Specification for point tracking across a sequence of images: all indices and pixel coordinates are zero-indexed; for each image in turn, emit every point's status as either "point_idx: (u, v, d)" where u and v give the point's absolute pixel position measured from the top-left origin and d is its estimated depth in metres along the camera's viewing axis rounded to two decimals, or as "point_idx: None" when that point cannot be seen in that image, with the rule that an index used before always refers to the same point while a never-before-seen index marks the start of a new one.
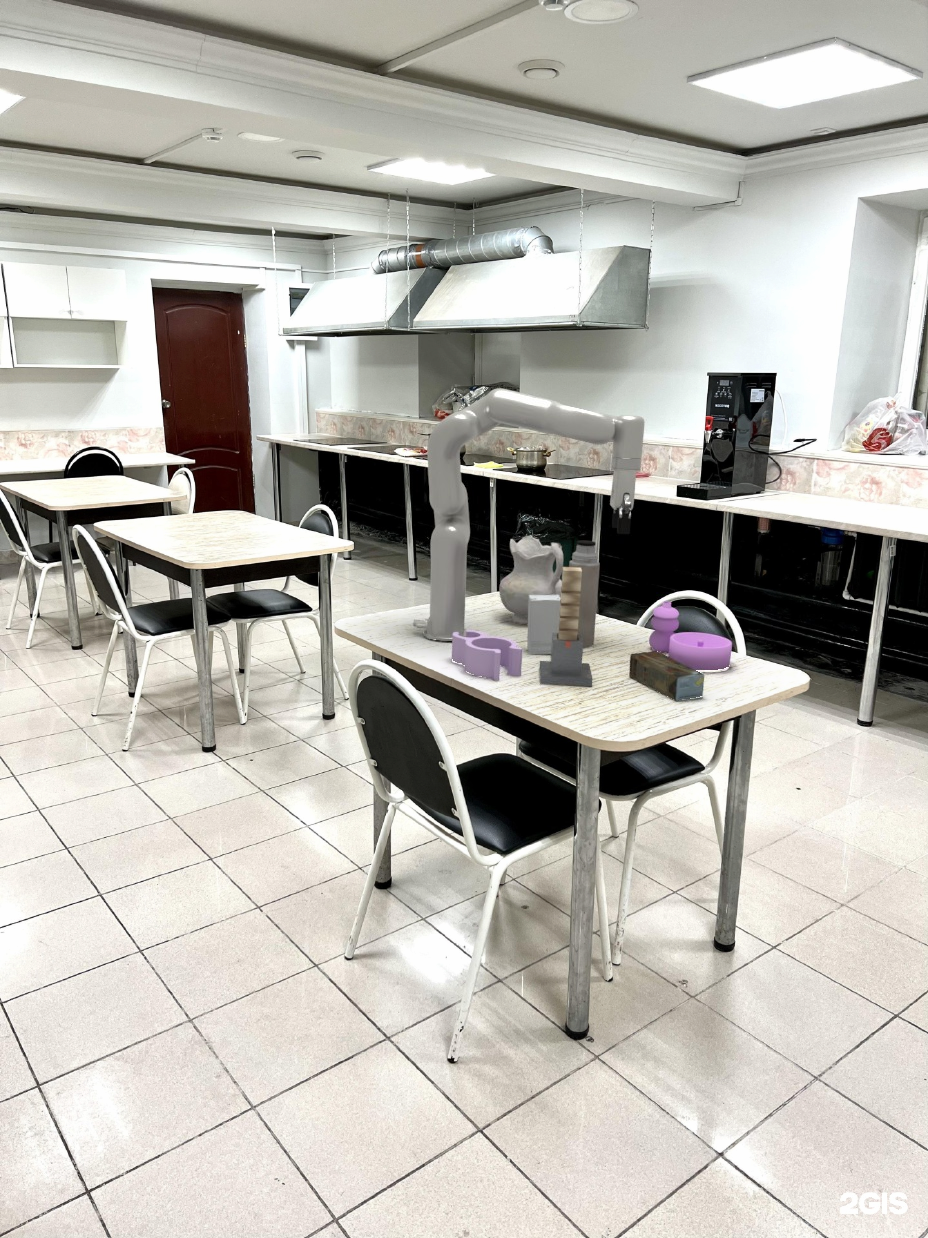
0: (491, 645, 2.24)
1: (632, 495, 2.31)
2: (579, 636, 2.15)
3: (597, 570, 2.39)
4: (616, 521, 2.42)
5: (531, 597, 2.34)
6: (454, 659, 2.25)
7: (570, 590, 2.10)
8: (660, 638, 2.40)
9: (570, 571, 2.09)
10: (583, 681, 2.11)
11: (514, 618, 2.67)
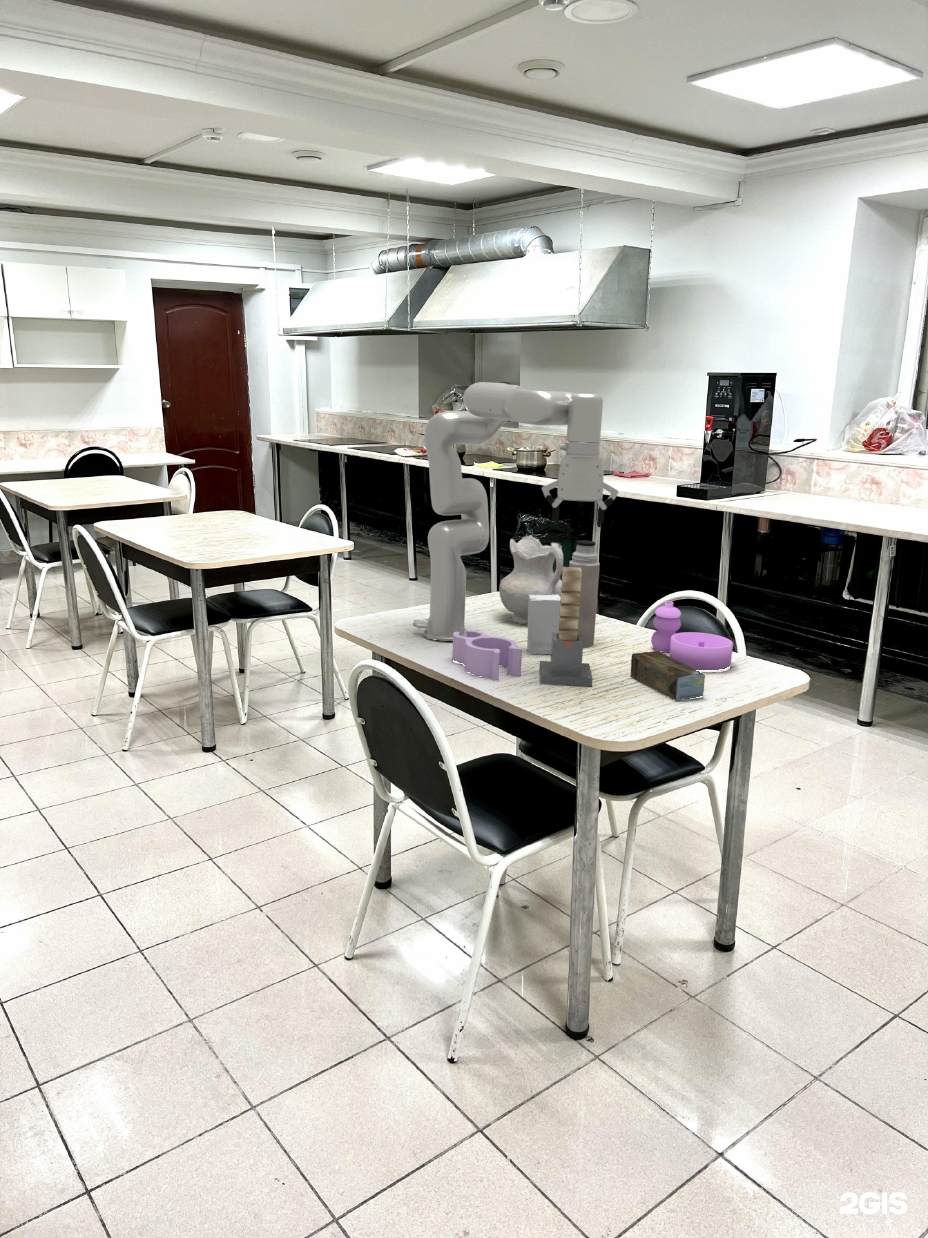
0: (491, 645, 2.24)
1: None
2: (579, 636, 2.15)
3: (597, 570, 2.39)
4: (558, 517, 2.09)
5: (531, 597, 2.34)
6: (454, 659, 2.25)
7: (570, 590, 2.10)
8: (662, 638, 2.40)
9: (570, 571, 2.09)
10: (583, 681, 2.11)
11: (514, 618, 2.67)
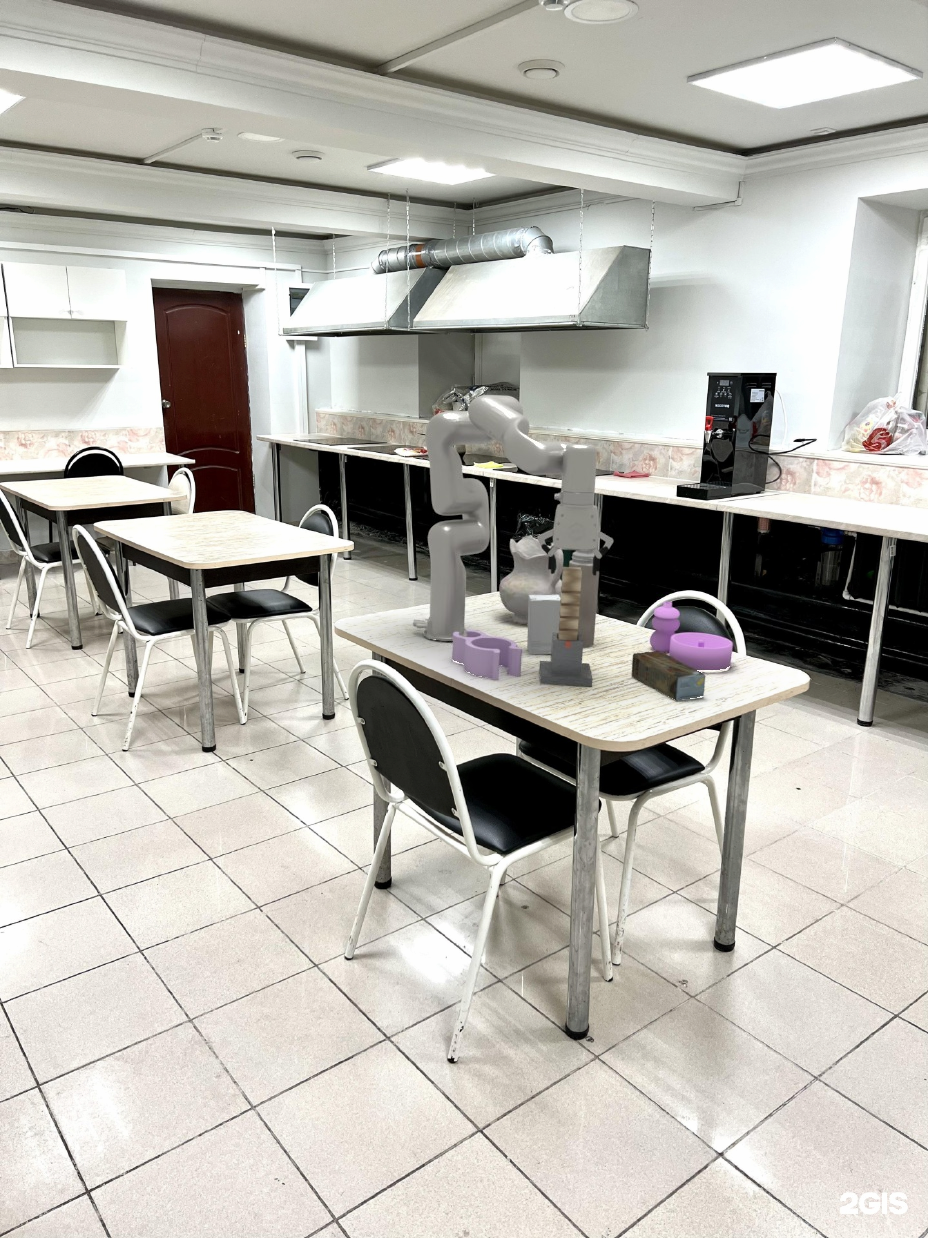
0: (491, 645, 2.24)
1: None
2: (579, 636, 2.15)
3: None
4: (554, 565, 2.10)
5: (531, 597, 2.34)
6: (454, 659, 2.25)
7: (570, 590, 2.10)
8: (661, 638, 2.40)
9: (570, 571, 2.09)
10: (583, 681, 2.11)
11: (514, 618, 2.67)
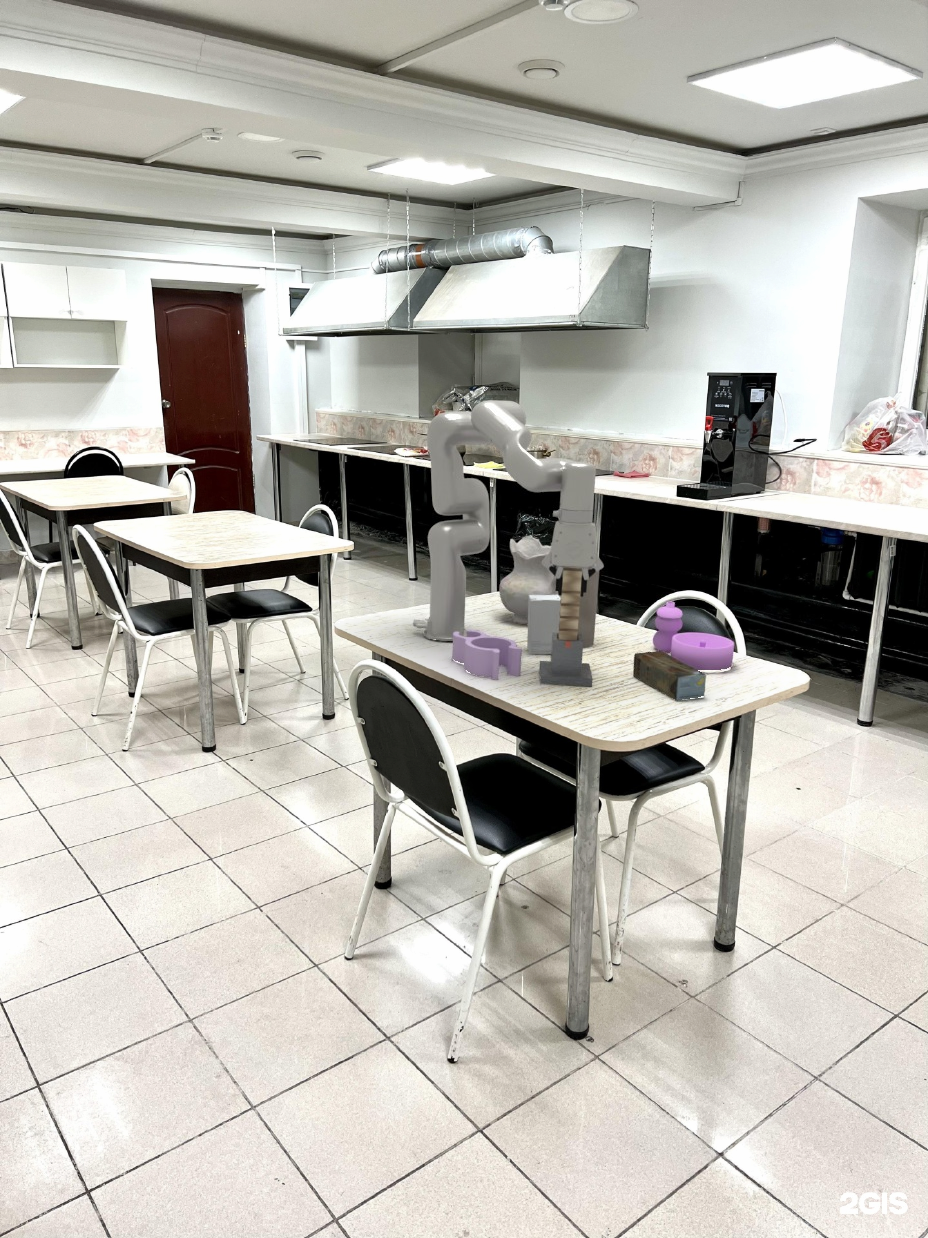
0: (491, 645, 2.24)
1: None
2: (579, 636, 2.15)
3: None
4: (561, 587, 2.11)
5: (531, 597, 2.34)
6: (454, 658, 2.26)
7: (570, 590, 2.10)
8: (663, 638, 2.40)
9: (570, 571, 2.09)
10: (583, 681, 2.11)
11: (514, 618, 2.67)
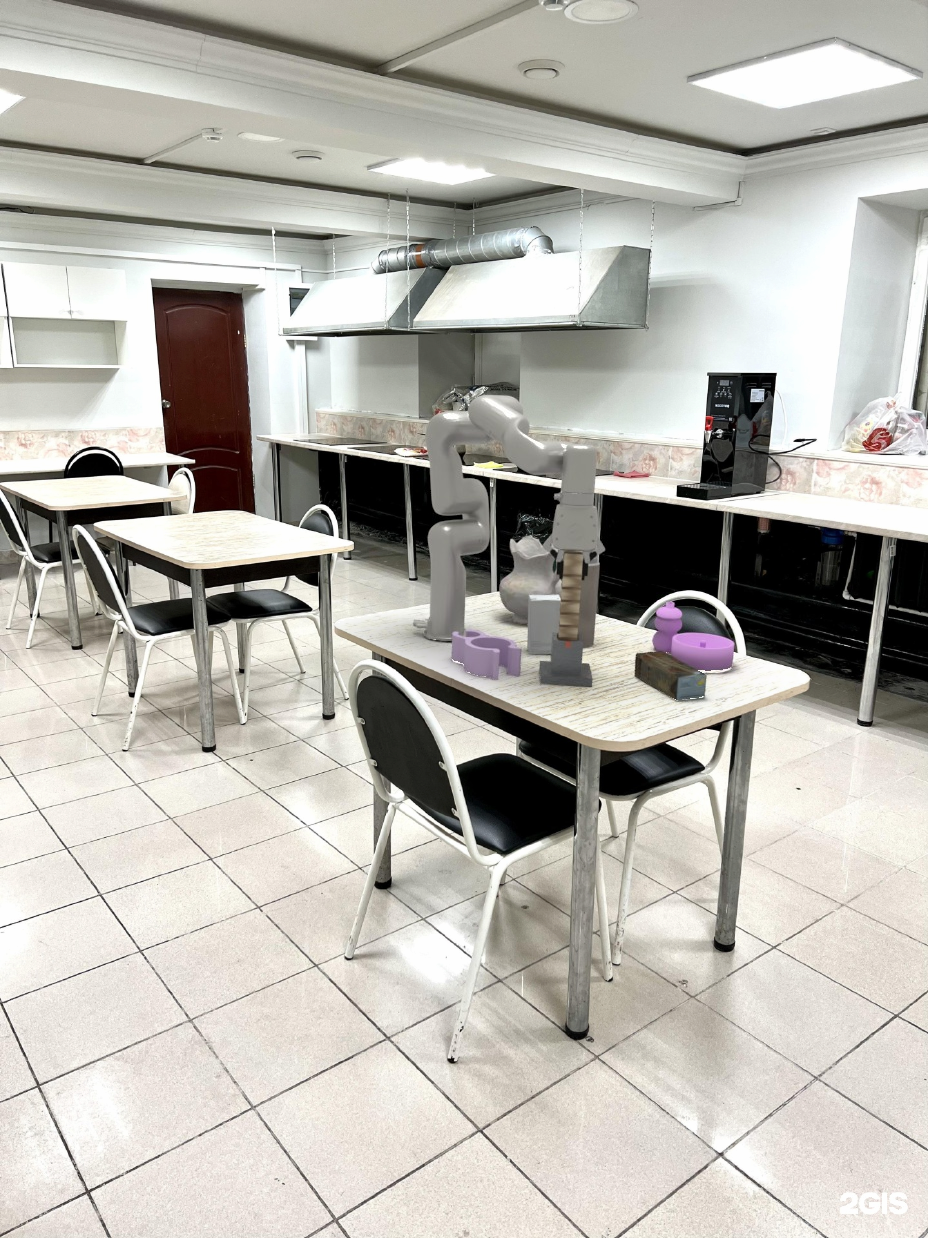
0: (490, 645, 2.24)
1: None
2: (579, 636, 2.15)
3: (597, 570, 2.39)
4: (562, 571, 2.10)
5: (531, 597, 2.34)
6: (454, 658, 2.26)
7: (571, 573, 2.09)
8: (663, 638, 2.40)
9: (571, 554, 2.08)
10: (583, 681, 2.11)
11: (514, 618, 2.67)
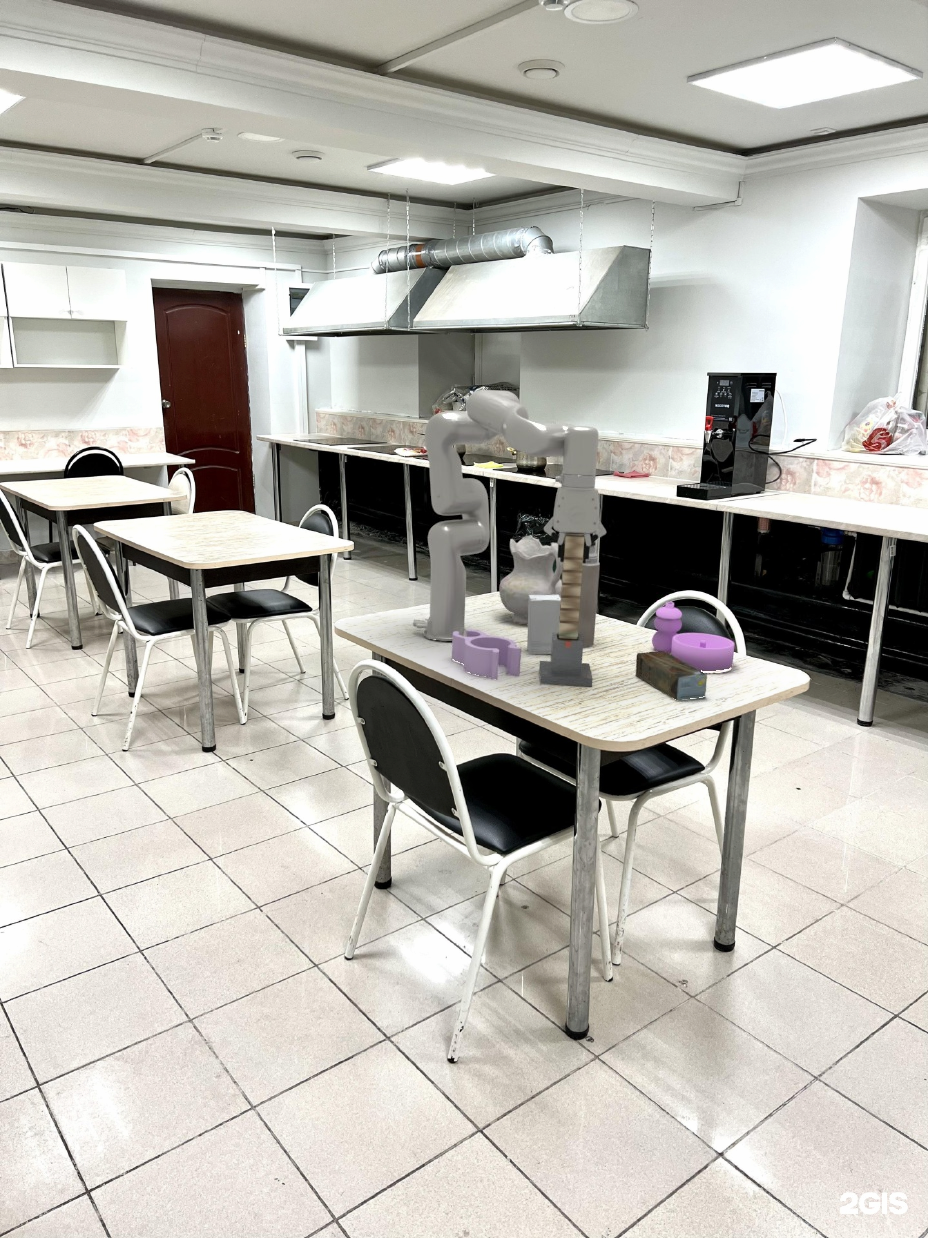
0: (490, 644, 2.25)
1: None
2: (579, 636, 2.15)
3: (597, 570, 2.39)
4: None
5: (531, 597, 2.34)
6: (454, 658, 2.26)
7: (572, 556, 2.08)
8: (663, 638, 2.40)
9: (572, 537, 2.07)
10: (583, 681, 2.11)
11: (514, 618, 2.67)
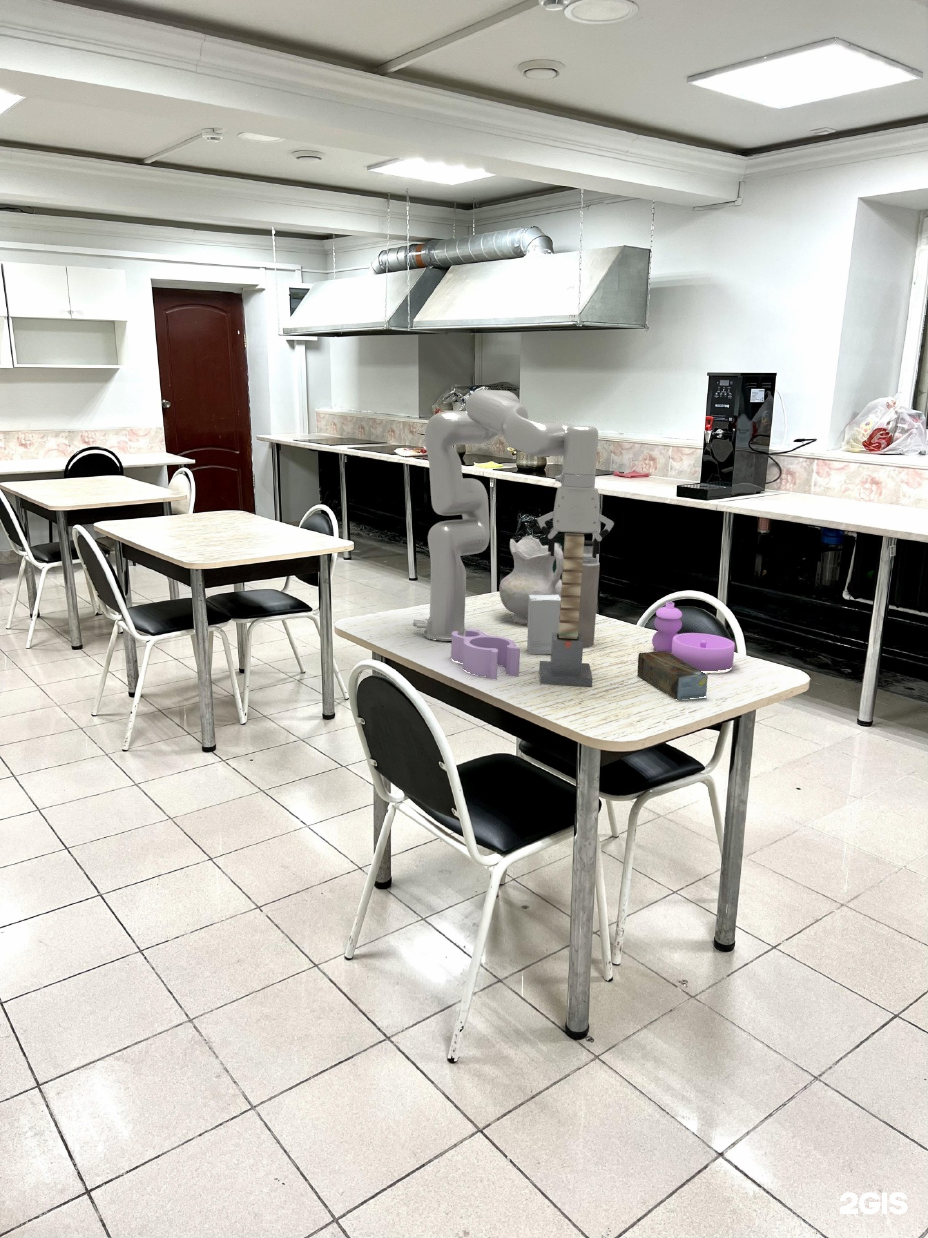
0: (489, 644, 2.25)
1: None
2: (579, 636, 2.15)
3: (597, 570, 2.39)
4: None
5: (531, 597, 2.34)
6: (453, 658, 2.26)
7: (572, 556, 2.08)
8: (663, 639, 2.39)
9: (572, 537, 2.07)
10: (583, 681, 2.11)
11: (514, 618, 2.67)
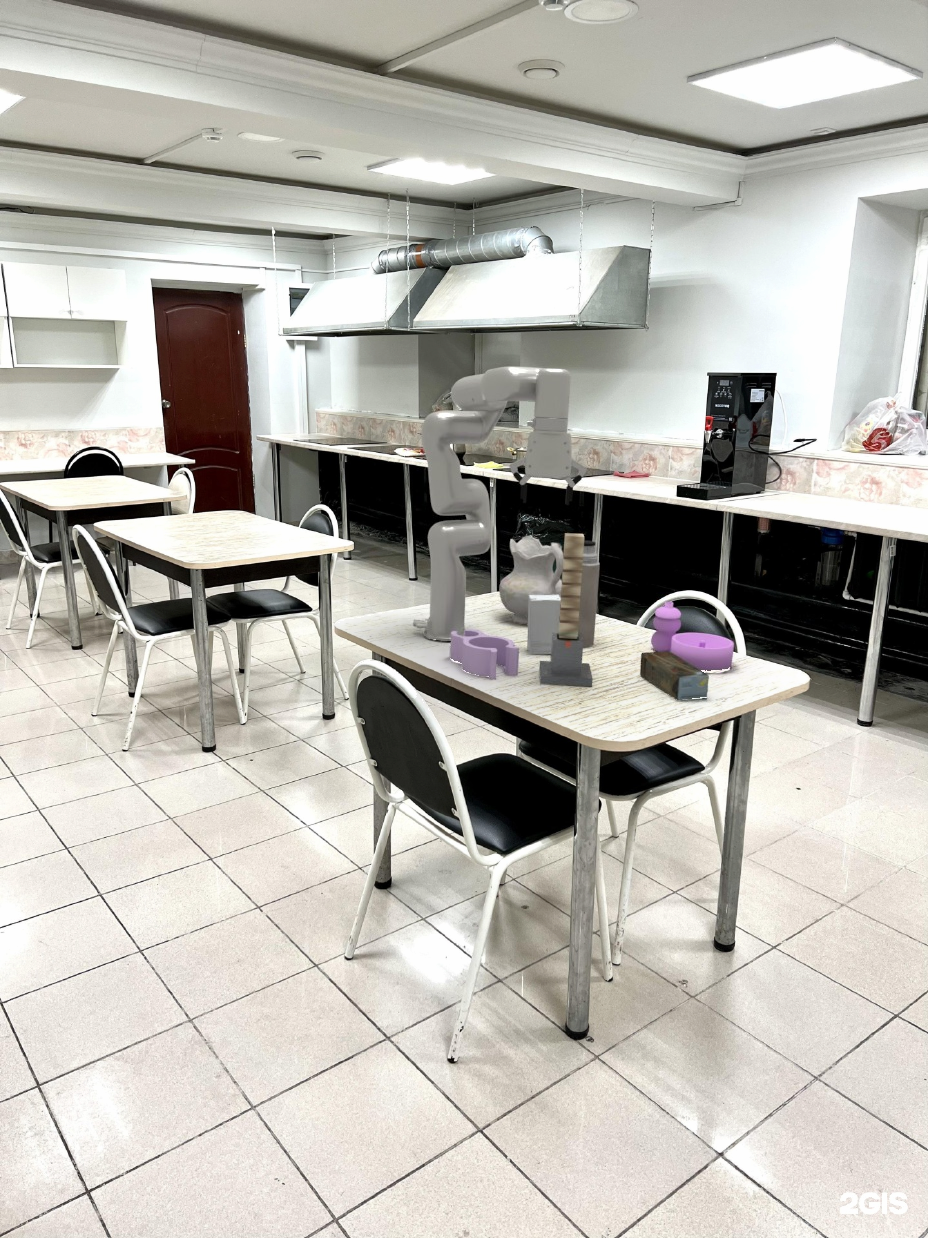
0: (489, 644, 2.25)
1: None
2: (579, 636, 2.15)
3: (597, 570, 2.39)
4: (526, 494, 2.05)
5: (531, 597, 2.34)
6: (452, 658, 2.26)
7: (572, 556, 2.08)
8: (662, 638, 2.40)
9: (572, 537, 2.07)
10: (583, 681, 2.11)
11: (514, 618, 2.67)
